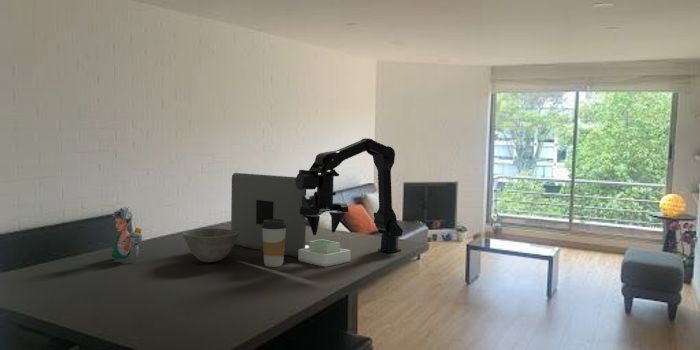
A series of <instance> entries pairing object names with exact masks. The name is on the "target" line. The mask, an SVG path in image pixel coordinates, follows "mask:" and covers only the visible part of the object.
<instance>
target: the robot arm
mask: <svg viewBox="0 0 700 350" xmlns="http://www.w3.org/2000/svg"><path fill="white" fill-rule="evenodd" d="M365 152H366V153H367V154H368V155H370V156H372V158H373V159H372V161H373V164H374V166H375V168H376V170H377V187H378V188H377V190H378V191H377V193H378V209H377V211H376V212H373V223H374V226H375V227H376V228H377V233H378V234H380V235H381V239H380V248H378V249H377V250H378V251H380V252H386V253H390V254H391V253H396V252H400V251H402V249H401V248H399V237H401V236H402V235H403V232H404V230H403V229H402V227H401V226H399V224H398V220H397V215H396V213H395V211H394V208H393V202H392V201H393V199H392V198H393V197H392V196H393V195H392V168H393V166H394V163H395V158H396V151H395V149H394V148H393V147H391V146H388V145H385V144H383V143H380V142H378V141H376V140H374V139H372V138H362V139H360V140H358V141H356V142H354V143H352V144H348V145H347V146H344V147H342V148H339V149H336V150H331V151H326V152H321V153H318V154H317V155H316V156H315V159H314V162H313V163H312V165H311V166H310V167H309V169H299V170H298V173H297V176H296V177H297V178H296V187H297V188H298V189H299V190H306V191H308V190H316V191H314V192H313V196H310V195H307V194H306V196H302V205H306V206H302V207H301V208H300V214H303V216H304V217H306V220H307V221H308V224H309V226H310V229H311V232H312V234H313V236H316V235H317V233H318V229H319V228H318V227H319V222H320V218H321V215H319V214H320V213H326V212H328V213H329V215H330V217H331V219H330V220H331V221H330V222H331V225H330V226H331V227H330V228H331V232H332V233H335V232H336V230H337V228H338V227H339V225H340V222H341V221H342V219H343V217H344V216H345V215H346V214H347V213H348V212H349V205H348V204H347V203H342V202H341V203H340V202H334V196H336V195H337V193H336V192H334V178H335V177H339V176H340V174H339V173H338V172H337V171H336V169H335V168H337V167H338V166H340V165H341V164H342V162H344V161H345V160H349V159H350V158H353V157H355V156H357V155H360V154H362V153H365Z"/></svg>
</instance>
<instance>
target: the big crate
mask: <svg viewBox="0 0 700 350" xmlns="http://www.w3.org/2000/svg"><path fill="white" fill-rule="evenodd" d="M297 260H298V262H302V263H306V264H311V265H315V266H319V267H324V268H327V267H331V266H332V267H333V266H337V265H341V264H345V263H349V262H351V249H345V248H341V247H340V252H336V253H331V254H326V255H325V254H321V253H316V252H311V251H309V248H303V249H298V257H297Z"/></svg>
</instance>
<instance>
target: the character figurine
mask: <svg viewBox="0 0 700 350" xmlns="http://www.w3.org/2000/svg"><path fill="white" fill-rule="evenodd" d="M112 217H113V220H114V222H115V228H116V229H117V233H115V235H114V240H113V243H112V244H111V249H112V253H111V257H112V258H113V259H115V260H116V259H117V260H118V259H119V260H126V259H128V258H129V256H131V253H132V245H133V251H134V256H135V258H139V257H140V247H139V246H140V245H139V243H142V242H143V234H142V231H143V230H142V228H140V227H136V228H135V229H134V231H131V232H129V231H128V227H129V226H131V220H133V214H132V211H130V210H129V207H127V206H122V207H120V208H119V209H116V210H115V211H114V213H113V214H112Z"/></svg>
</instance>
